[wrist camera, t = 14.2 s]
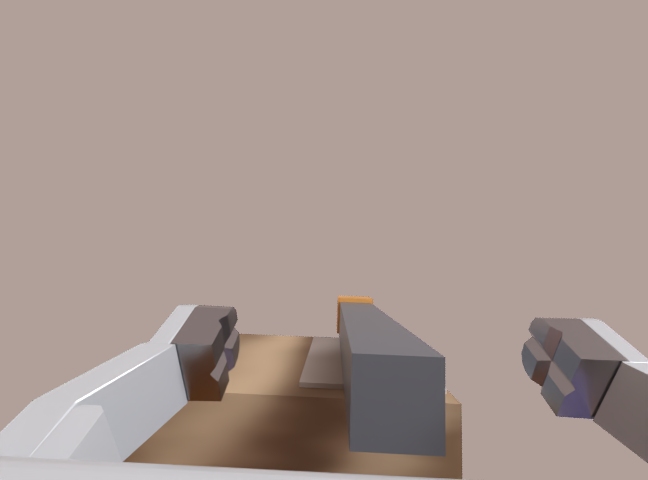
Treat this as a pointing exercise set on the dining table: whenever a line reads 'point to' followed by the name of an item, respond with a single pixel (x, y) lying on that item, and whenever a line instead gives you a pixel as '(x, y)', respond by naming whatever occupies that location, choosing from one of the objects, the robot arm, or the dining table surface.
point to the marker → (389, 383)
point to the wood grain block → (287, 419)
